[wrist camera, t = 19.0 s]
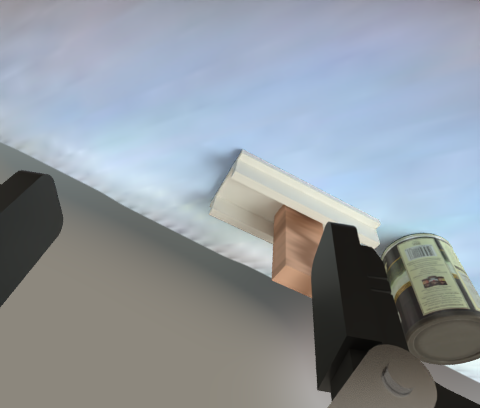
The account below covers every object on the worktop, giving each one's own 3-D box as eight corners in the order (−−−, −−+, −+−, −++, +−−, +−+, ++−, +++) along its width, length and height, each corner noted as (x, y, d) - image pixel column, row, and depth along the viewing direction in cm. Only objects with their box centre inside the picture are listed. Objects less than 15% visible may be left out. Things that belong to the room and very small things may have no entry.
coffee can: (404, 290, 57) (434, 374, 46) (366, 256, 53) (388, 338, 42) (467, 260, 52) (518, 347, 40) (430, 220, 48) (474, 303, 37)
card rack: (210, 202, 50) (205, 219, 47) (242, 149, 45) (239, 164, 41) (335, 261, 55) (339, 281, 51) (379, 219, 49) (385, 238, 46)
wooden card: (274, 215, 49) (271, 280, 40) (285, 201, 48) (285, 264, 38) (309, 233, 50) (315, 299, 41) (322, 219, 49) (331, 285, 39)
